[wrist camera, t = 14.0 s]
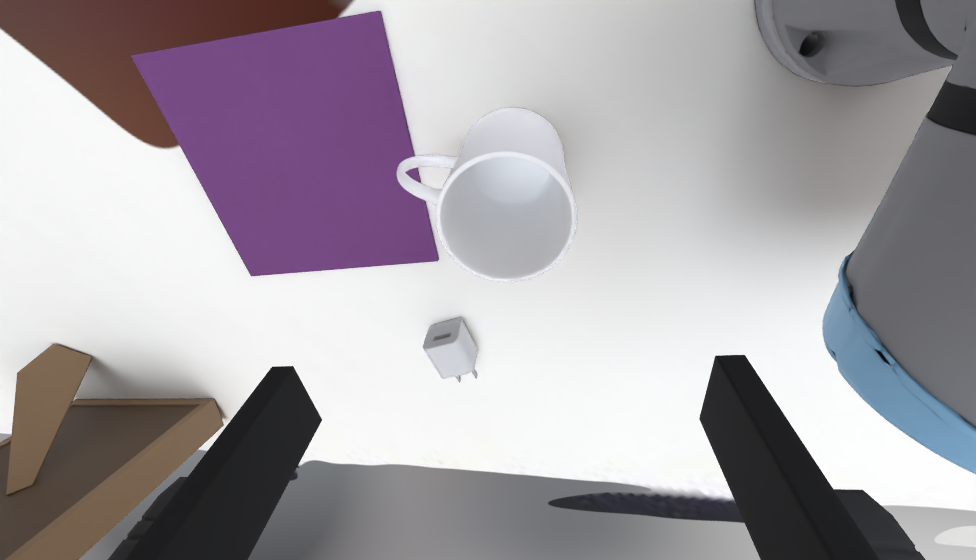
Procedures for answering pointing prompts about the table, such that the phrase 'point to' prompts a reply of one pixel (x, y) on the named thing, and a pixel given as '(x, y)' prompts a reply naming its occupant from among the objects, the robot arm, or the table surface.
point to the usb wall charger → (451, 349)
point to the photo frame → (85, 457)
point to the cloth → (298, 144)
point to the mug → (502, 197)
